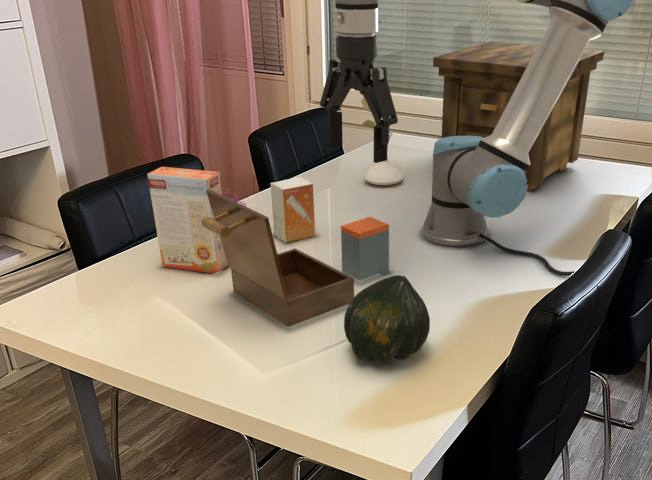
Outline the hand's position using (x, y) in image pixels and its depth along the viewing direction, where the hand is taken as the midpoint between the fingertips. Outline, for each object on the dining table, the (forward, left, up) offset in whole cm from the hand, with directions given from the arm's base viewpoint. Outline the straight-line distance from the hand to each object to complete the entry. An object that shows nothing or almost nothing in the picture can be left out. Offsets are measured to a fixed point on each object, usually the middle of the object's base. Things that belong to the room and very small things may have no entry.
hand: (357, 153), depth 140 cm
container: (-1, -2, -26) cm, 26 cm away
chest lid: (+13, +23, -12) cm, 28 cm away
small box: (+22, -16, -26) cm, 38 cm away
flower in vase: (+16, -62, -26) cm, 69 cm away
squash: (-16, +28, -26) cm, 41 cm away
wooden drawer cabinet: (-17, -84, -26) cm, 90 cm away
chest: (+8, +15, -26) cm, 31 cm away
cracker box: (+35, +7, -26) cm, 45 cm away
